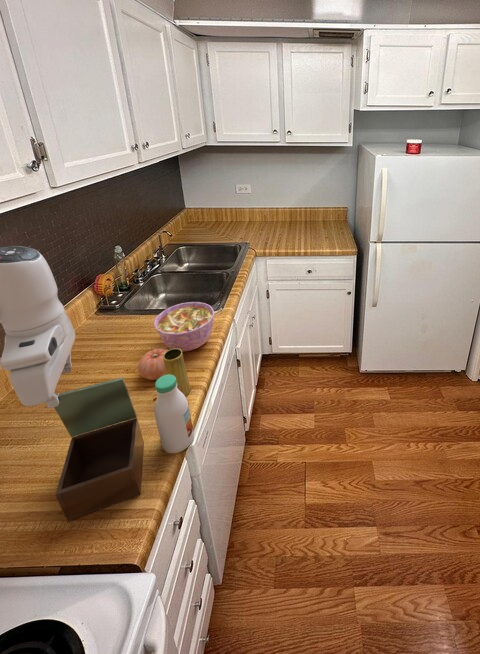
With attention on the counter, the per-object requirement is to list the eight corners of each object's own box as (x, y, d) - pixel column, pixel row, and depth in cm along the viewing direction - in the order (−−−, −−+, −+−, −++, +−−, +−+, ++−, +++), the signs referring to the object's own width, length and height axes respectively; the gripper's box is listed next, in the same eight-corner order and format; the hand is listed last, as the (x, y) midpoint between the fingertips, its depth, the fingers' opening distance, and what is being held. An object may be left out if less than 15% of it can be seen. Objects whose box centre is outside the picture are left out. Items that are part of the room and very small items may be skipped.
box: (140, 494, 73) (132, 468, 70) (67, 522, 68) (55, 495, 65) (144, 442, 85) (137, 417, 82) (81, 462, 80) (71, 437, 77)
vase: (180, 381, 104) (173, 344, 99) (195, 388, 102) (188, 350, 96) (164, 395, 99) (156, 357, 94) (179, 402, 97) (171, 364, 91)
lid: (122, 379, 74) (123, 377, 74) (48, 398, 69) (49, 395, 69) (136, 417, 81) (136, 415, 82) (71, 437, 76) (71, 434, 77)
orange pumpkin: (139, 389, 101) (133, 369, 98) (142, 366, 110) (137, 347, 107) (177, 380, 105) (173, 360, 102) (177, 358, 114) (173, 339, 111)
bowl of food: (189, 322, 134) (184, 297, 129) (228, 335, 126) (225, 309, 122) (147, 352, 117) (140, 324, 113) (190, 369, 109) (184, 340, 105)
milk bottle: (184, 457, 81) (170, 395, 74) (155, 451, 83) (139, 391, 75) (199, 429, 88) (189, 371, 81) (173, 425, 90) (160, 367, 82)
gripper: (37, 305, 69) (57, 358, 75) (-6, 370, 52) (23, 433, 57) (73, 299, 72) (89, 351, 77) (43, 359, 54) (67, 421, 59)
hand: (61, 386), depth 67 cm, fingers open, 8 cm apart
